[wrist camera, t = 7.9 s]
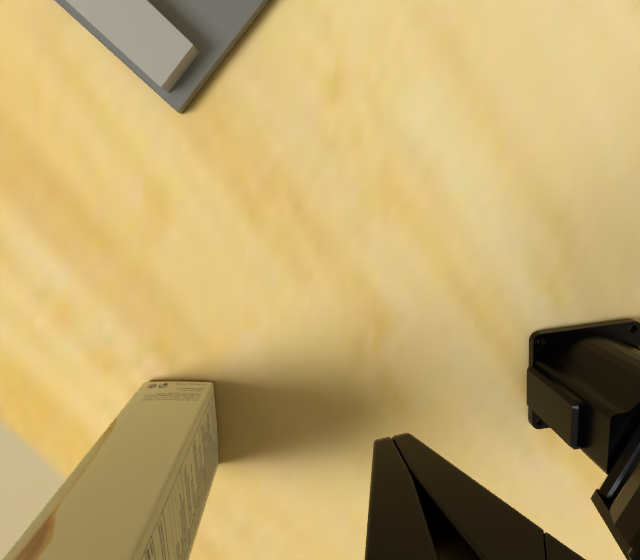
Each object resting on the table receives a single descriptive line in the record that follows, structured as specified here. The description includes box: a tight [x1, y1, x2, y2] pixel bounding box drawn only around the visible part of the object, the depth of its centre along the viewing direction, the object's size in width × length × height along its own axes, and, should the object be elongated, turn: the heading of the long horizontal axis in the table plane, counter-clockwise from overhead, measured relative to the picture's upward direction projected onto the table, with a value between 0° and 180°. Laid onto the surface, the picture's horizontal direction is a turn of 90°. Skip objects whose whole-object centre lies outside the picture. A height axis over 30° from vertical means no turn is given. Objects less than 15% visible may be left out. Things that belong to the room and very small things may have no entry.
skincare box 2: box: [3, 381, 218, 560], centre depth 17 cm, size 6×4×12 cm
